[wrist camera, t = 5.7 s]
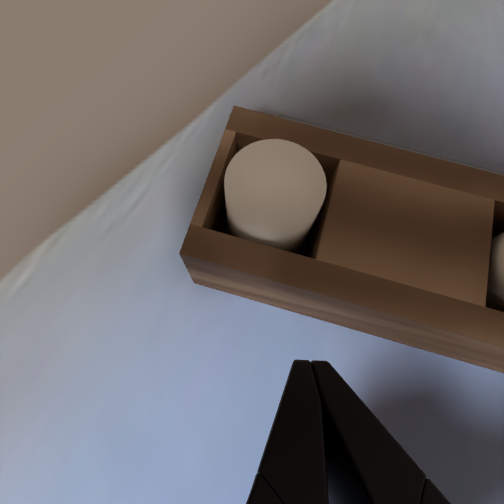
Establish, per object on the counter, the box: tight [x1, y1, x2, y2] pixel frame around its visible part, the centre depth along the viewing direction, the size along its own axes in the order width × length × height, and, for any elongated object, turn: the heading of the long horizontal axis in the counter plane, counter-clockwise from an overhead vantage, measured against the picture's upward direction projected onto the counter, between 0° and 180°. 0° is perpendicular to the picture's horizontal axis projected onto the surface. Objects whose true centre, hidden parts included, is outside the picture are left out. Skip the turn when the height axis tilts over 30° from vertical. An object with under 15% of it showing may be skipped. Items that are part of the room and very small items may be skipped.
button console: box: [179, 106, 504, 373], centre depth 22 cm, size 9×21×6 cm, turn 74°
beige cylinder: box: [224, 139, 327, 254], centre depth 21 cm, size 5×5×6 cm
